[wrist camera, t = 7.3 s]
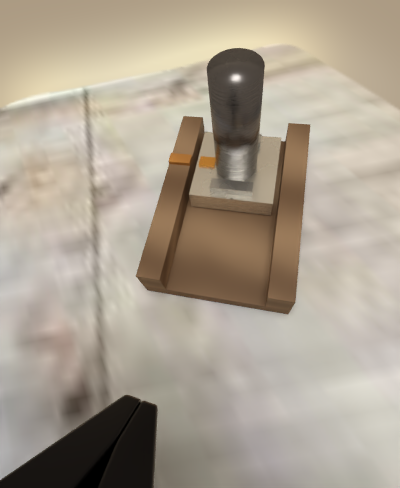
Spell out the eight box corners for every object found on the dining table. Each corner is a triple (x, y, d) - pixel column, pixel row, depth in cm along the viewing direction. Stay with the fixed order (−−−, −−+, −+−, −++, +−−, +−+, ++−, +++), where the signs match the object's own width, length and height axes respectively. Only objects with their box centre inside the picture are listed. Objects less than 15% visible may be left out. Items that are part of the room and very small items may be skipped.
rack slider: (270, 215, 24) (288, 112, 15) (191, 206, 25) (167, 104, 16) (279, 151, 26) (298, 31, 18) (206, 145, 27) (192, 30, 19)
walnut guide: (288, 314, 22) (296, 301, 19) (147, 290, 24) (134, 274, 21) (303, 151, 27) (310, 121, 24) (188, 142, 29) (182, 113, 26)
